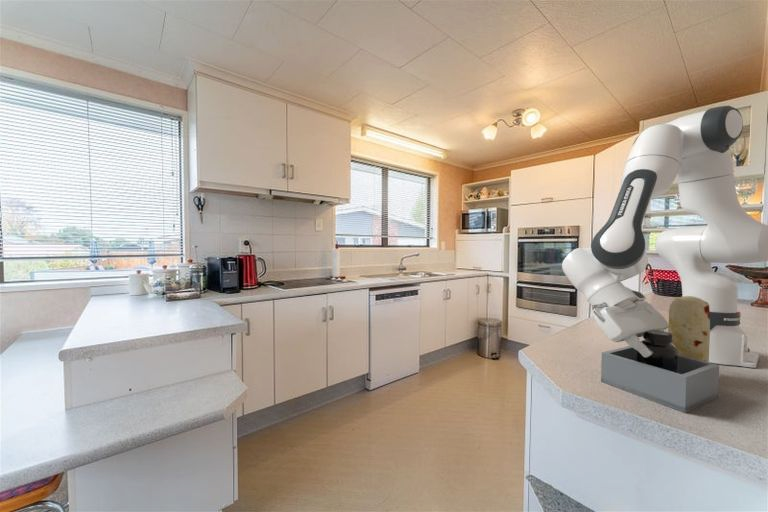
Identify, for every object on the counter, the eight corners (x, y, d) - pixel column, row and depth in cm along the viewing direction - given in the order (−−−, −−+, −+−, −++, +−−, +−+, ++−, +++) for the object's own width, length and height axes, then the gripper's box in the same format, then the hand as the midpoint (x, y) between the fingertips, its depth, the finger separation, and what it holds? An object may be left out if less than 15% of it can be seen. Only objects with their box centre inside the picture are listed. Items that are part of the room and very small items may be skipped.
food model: (718, 386, 69) (721, 300, 69) (682, 382, 71) (685, 299, 71) (690, 370, 79) (692, 294, 78) (658, 367, 81) (661, 293, 80)
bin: (635, 371, 78) (635, 344, 78) (718, 397, 64) (719, 365, 64) (601, 381, 71) (601, 352, 71) (685, 413, 58) (686, 377, 58)
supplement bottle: (635, 384, 68) (636, 331, 67) (636, 375, 73) (637, 326, 72) (677, 394, 63) (679, 338, 63) (676, 383, 68) (677, 331, 68)
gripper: (598, 297, 69) (649, 352, 60) (645, 292, 78) (695, 340, 69) (578, 312, 73) (623, 366, 65) (625, 306, 82) (670, 353, 73)
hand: (661, 352), depth 67 cm, fingers open, 8 cm apart
